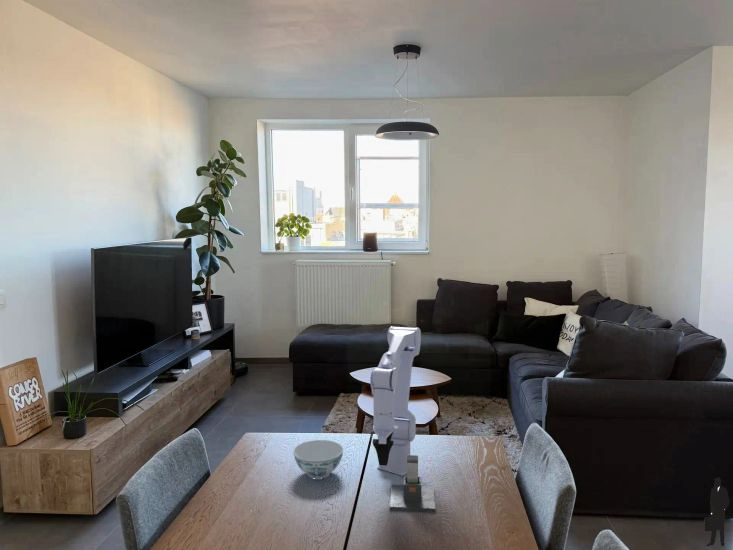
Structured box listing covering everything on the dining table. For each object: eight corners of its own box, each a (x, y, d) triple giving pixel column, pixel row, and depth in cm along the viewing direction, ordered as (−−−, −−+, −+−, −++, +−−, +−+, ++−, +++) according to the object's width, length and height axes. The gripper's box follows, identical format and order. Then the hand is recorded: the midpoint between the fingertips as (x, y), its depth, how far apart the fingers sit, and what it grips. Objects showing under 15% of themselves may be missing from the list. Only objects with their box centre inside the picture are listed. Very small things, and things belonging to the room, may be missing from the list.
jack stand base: (389, 510, 140) (389, 490, 139) (391, 488, 152) (391, 469, 151) (435, 512, 139) (435, 492, 138) (433, 489, 150) (433, 471, 150)
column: (406, 487, 143) (406, 459, 143) (407, 482, 146) (407, 455, 146) (418, 488, 143) (418, 460, 142) (417, 482, 146) (418, 455, 145)
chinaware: (284, 481, 156) (284, 455, 155) (308, 460, 170) (308, 437, 169) (330, 490, 151) (329, 464, 150) (351, 468, 164) (351, 444, 164)
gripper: (397, 421, 138) (397, 471, 139) (399, 402, 153) (399, 448, 154) (370, 420, 139) (371, 470, 140) (374, 402, 153) (374, 447, 154)
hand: (384, 458), depth 147 cm, fingers open, 7 cm apart
